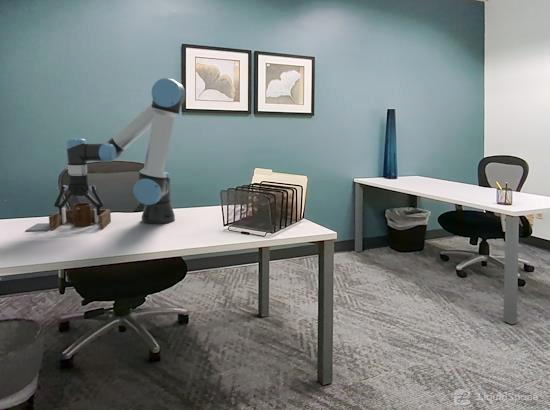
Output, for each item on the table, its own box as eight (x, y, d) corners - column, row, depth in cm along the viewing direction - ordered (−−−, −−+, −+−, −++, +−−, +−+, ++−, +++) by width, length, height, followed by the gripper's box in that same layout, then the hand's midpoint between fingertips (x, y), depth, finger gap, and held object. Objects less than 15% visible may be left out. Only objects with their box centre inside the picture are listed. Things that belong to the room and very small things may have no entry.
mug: (85, 229, 186) (83, 208, 185) (67, 229, 186) (65, 208, 184) (94, 223, 198) (93, 203, 197) (77, 223, 198) (76, 203, 196)
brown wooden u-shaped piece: (110, 221, 202) (110, 209, 200) (102, 229, 187) (102, 215, 186) (62, 222, 199) (61, 209, 197) (49, 230, 184) (48, 216, 183)
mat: (58, 224, 195) (58, 223, 195) (47, 231, 182) (47, 229, 182) (37, 224, 194) (37, 223, 194) (25, 231, 181) (25, 230, 181)
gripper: (110, 173, 193) (112, 220, 197) (50, 173, 190) (53, 220, 194) (106, 175, 186) (108, 224, 190) (44, 175, 183) (47, 224, 186)
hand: (80, 222), depth 192 cm, fingers open, 13 cm apart
